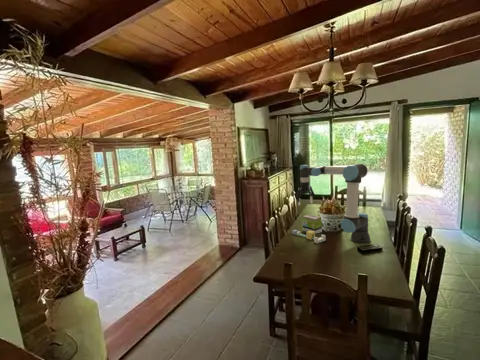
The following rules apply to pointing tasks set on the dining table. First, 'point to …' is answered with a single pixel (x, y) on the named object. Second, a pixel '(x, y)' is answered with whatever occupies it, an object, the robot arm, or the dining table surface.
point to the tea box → (312, 223)
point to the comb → (319, 239)
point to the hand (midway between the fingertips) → (305, 204)
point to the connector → (294, 232)
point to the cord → (306, 236)
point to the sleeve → (310, 234)
